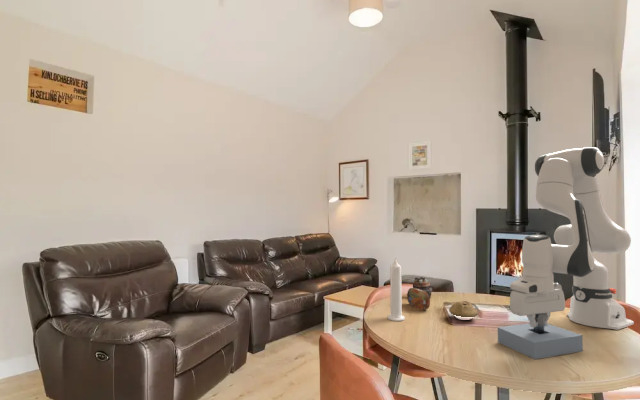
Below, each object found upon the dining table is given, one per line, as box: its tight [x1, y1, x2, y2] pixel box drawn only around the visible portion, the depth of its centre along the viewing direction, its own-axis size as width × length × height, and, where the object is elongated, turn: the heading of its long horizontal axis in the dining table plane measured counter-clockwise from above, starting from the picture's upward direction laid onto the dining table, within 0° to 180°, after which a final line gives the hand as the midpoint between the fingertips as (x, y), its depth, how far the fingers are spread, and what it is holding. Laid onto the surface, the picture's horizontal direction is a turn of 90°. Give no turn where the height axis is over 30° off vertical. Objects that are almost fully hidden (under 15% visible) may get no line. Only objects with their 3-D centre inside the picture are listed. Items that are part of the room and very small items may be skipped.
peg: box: [533, 313, 544, 334], centre depth 113 cm, size 3×3×10 cm
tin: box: [406, 287, 431, 311], centre depth 158 cm, size 15×3×8 cm, turn 17°
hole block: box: [497, 322, 584, 360], centre depth 113 cm, size 20×14×5 cm
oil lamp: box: [448, 300, 479, 318], centre depth 143 cm, size 11×15×8 cm
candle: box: [387, 257, 406, 322], centre depth 142 cm, size 7×7×25 cm
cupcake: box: [412, 277, 433, 299], centre depth 177 cm, size 10×10×10 cm
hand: (538, 326), depth 113 cm, fingers closed on peg, 3 cm apart
